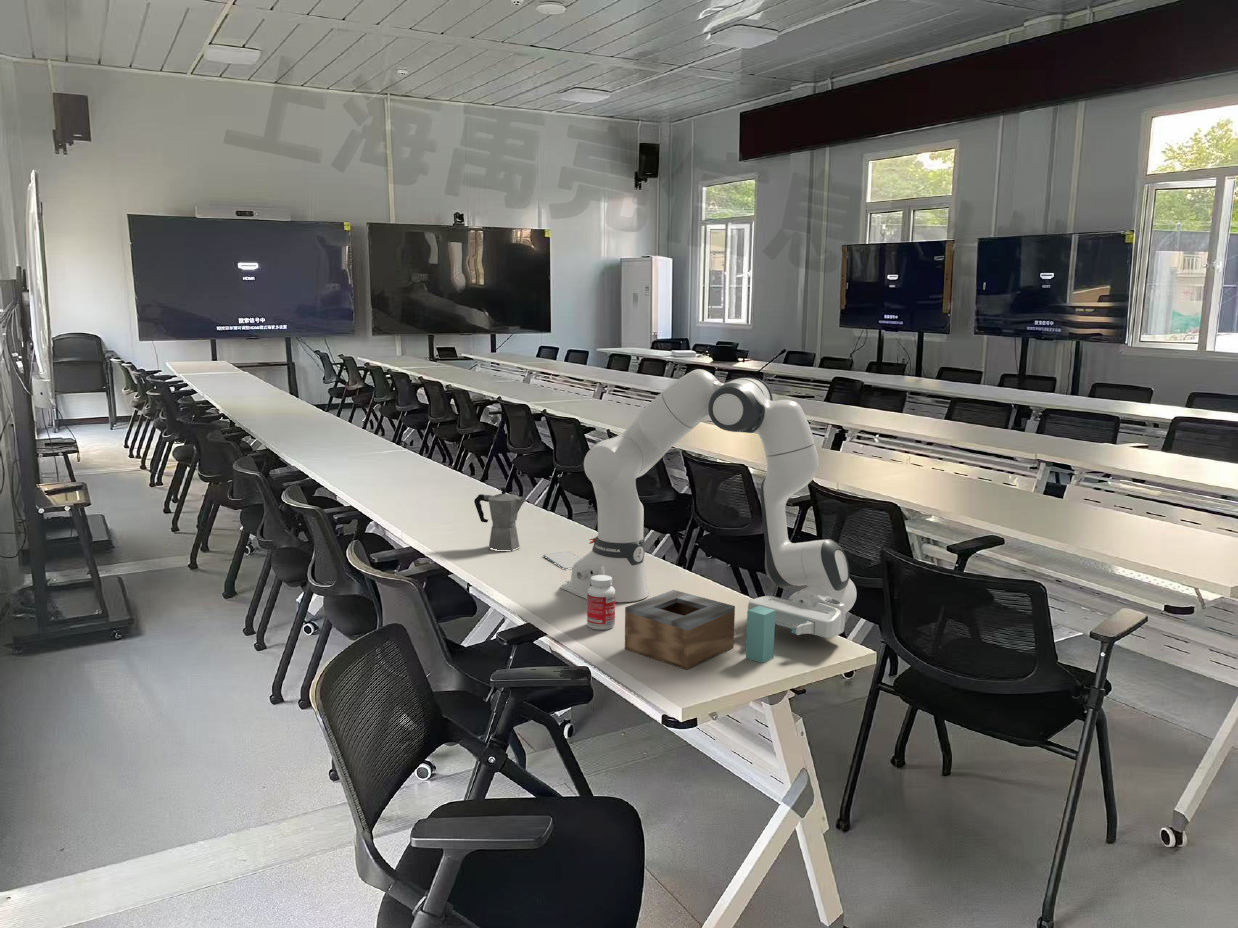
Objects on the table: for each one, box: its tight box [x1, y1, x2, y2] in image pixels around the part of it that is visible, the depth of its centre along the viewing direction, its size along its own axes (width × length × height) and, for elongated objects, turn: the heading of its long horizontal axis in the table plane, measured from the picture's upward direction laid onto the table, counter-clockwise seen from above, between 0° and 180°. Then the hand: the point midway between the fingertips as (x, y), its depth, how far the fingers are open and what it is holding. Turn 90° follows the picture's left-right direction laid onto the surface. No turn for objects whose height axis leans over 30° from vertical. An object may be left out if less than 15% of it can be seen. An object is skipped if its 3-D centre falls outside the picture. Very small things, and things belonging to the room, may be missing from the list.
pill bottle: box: [586, 575, 616, 631], centre depth 202 cm, size 6×6×11 cm
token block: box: [745, 606, 776, 664], centre depth 184 cm, size 4×4×10 cm
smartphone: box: [542, 551, 582, 569], centre depth 254 cm, size 8×1×15 cm
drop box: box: [624, 589, 736, 671], centre depth 189 cm, size 16×16×9 cm
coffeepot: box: [473, 486, 527, 550], centre depth 265 cm, size 15×9×18 cm, turn 80°
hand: (774, 625), depth 188 cm, fingers open, 8 cm apart
